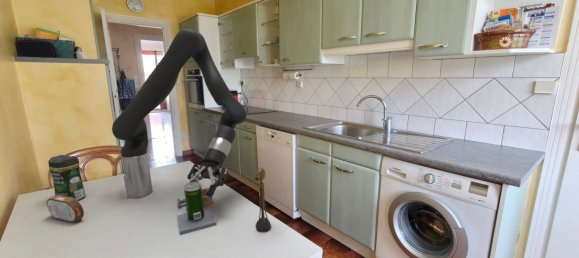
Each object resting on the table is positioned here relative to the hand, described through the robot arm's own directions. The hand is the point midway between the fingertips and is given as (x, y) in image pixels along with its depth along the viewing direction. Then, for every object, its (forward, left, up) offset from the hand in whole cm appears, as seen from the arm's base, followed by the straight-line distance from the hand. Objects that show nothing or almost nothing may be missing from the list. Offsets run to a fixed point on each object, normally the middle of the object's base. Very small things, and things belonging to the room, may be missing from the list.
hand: (198, 194), depth 88 cm
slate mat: (-2, -1, -9) cm, 9 cm away
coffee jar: (-45, +42, -9) cm, 62 cm away
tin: (-42, +23, -9) cm, 48 cm away
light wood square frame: (0, +13, -9) cm, 15 cm away
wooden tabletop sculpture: (+16, -16, -9) cm, 25 cm away
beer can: (-2, -1, -8) cm, 8 cm away
